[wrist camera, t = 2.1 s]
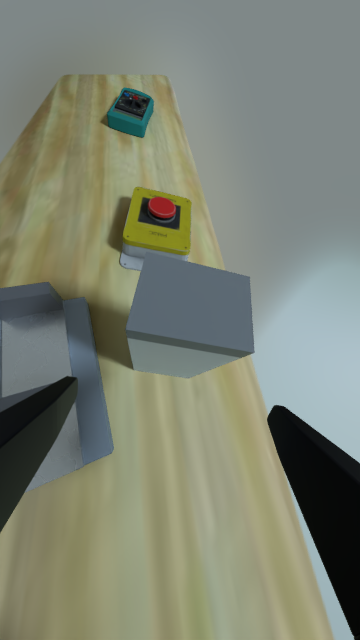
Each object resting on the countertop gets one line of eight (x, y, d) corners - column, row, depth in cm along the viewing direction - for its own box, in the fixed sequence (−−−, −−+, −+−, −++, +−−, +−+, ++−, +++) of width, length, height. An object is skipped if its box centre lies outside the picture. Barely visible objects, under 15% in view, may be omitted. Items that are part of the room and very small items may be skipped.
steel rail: (84, 465, 14) (83, 466, 13) (5, 499, 12) (1, 502, 12) (63, 300, 19) (61, 298, 18) (5, 310, 17) (2, 308, 17)
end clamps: (74, 398, 15) (60, 398, 12) (1, 421, 13) (-33, 427, 11) (62, 299, 18) (48, 281, 15) (2, 308, 17) (-25, 291, 14)
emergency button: (195, 185, 28) (194, 259, 21) (188, 212, 32) (185, 280, 25) (134, 169, 26) (114, 244, 20) (135, 199, 30) (119, 269, 24)
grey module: (188, 378, 20) (254, 352, 8) (133, 370, 19) (125, 329, 7) (192, 338, 21) (249, 274, 10) (142, 329, 21) (146, 249, 9)
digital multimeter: (153, 113, 44) (154, 94, 41) (143, 141, 38) (143, 122, 35) (123, 103, 43) (122, 83, 40) (108, 130, 36) (105, 109, 34)
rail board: (113, 448, 16) (111, 453, 14) (-14, 503, 13) (-32, 515, 12) (87, 303, 20) (84, 297, 19) (-10, 320, 18) (-22, 314, 16)
